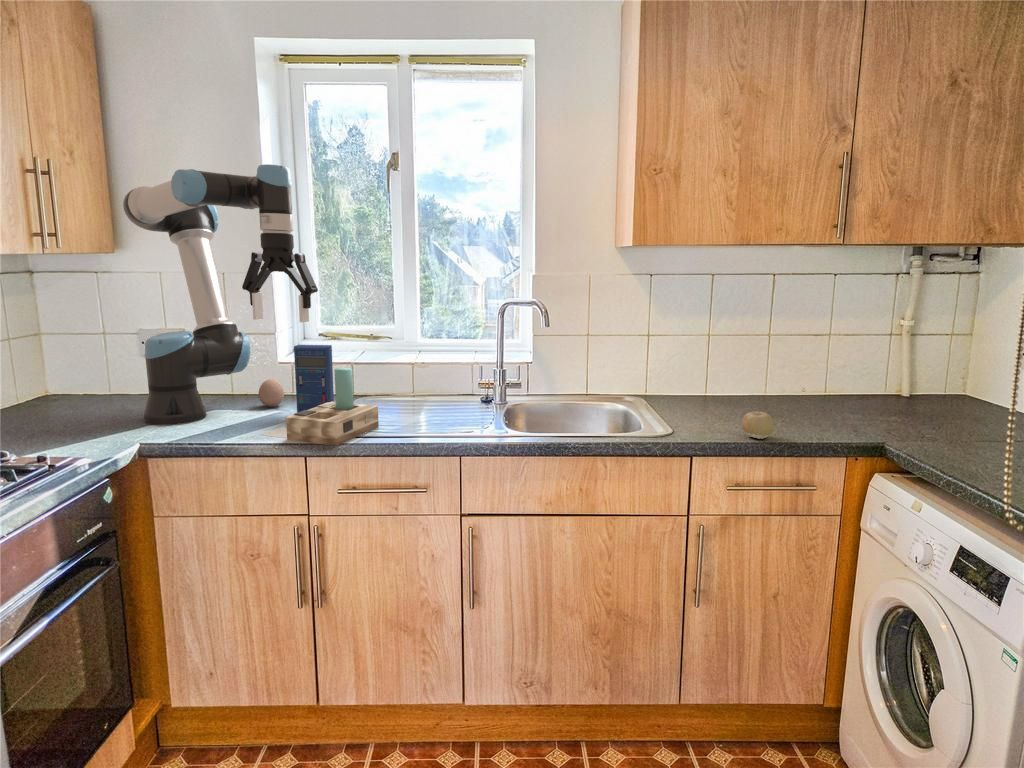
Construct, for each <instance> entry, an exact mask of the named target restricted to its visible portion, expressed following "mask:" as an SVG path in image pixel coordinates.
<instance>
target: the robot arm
mask: <svg viewBox="0 0 1024 768" xmlns="http://www.w3.org/2000/svg"><path fill="white" fill-rule="evenodd" d="M291 180H292V179H291V171H290V169H289V168H288V167H287V166H285V165H278V164H260V165H258V166H257V169H256V175H255V176H248V175H239V174H230V173H221V172H220V173H219V172H211V171H204V170H197V169H183V168H181V169H180V168H179V169H177V170H175V171H174V173H173V175H172V177H171V180H168V181H165V182H162V183H160V184H157V185H154V186H152V187H150V186H140V187H139V186H138V187H136V188H133V189H131V190H130V191H128V192H127V193H126V194H125V196H124V198H123V201H122V209H123V211H124V214H125V215H126V217H127V218H128V220H129V221H131V222H132V223H133V224H134V225H135V226H137V227H139V228H141V229H143V230H146V231H150V232H158V233H159V232H161V233H163V232H164V233H168V236H169V241H170V242H171V243H172V244H174V245H176V246H177V249H178V253H179V257H180V260H181V265H182V268H183V274H184V277H185V283H186V286H187V289H188V293H189V299H190V302H191V307H192V310H193V311H192V312H193V315H194V319H195V322H196V327H195V328H194V329H193V331H189V330H180V331H179V330H177V331H172V332H171V331H170V332H164V333H159V334H156V335H152V336H150V337H148V338H147V339H146V340H145V341H144V358H145V365H146V375H147V376H146V378H147V387H148V394H147V400H146V403H145V404H146V405H145V409H144V410H143V414H142V415H143V421H144V423H145V424H148V425H153V426H155V425H156V426H172V425H182V424H183V425H184V424H187V423H193V422H198V421H201V420H203V419H205V418H206V417H207V410H206V406H205V405H204V403H203V401H202V398H201V395H200V393H199V391H198V384H197V379H199V378H207V377H216V376H221V375H222V376H223V375H227V376H228V375H231V374H237V373H241V372H243V371H244V370H245V369H246V368H247V366H248V364H249V363H250V359H251V351H252V350H251V343H250V339H249V337H248V336H247V334H246V333H245V332H243V331H239V330H238V327H237V324H236V323H235V322H233V321H231V320H230V318H229V317H230V316H229V314H228V309H227V305H226V302H225V296H224V293H223V289H222V286H221V285H222V284H221V281H220V277H219V272H218V270H217V269H218V268H217V265H216V261H215V256H214V252H213V249H212V244H211V242H212V240H213V239H214V237H215V233H216V232H217V230H218V227H219V222H218V220H219V212H218V210H217V207H218V206H221V207H231V208H240V209H245V210H255V209H258V210H259V211H258V213H259V214H258V215H259V229H260V231H261V233H260V247H261V249H262V252H261V251H260V252H257V251H255V252H251V255H250V263H249V265H248V266H249V267H248V269H247V272H246V274H245V277H244V281H243V283H242V285H241V287H242V290H243V291H246V292H249V300H250V302H249V303H250V306H252V317H253V319H252V320H257V321H258V320H263V319H264V313H263V311H264V308H263V293H262V292H261V291H260V290H261V289H262V287H263V285H264V284H265V283H266V281H267V279H268V278H269V277H270V275H271V274H272V273H273V272H277V273H279V272H280V273H281V272H282V273H283V272H284V273H285V274H286V275H287V276H288V277H289V279H290V280H291V281H292V283H293V284H294V286H295V287H296V288H297V290H298V291H299V292H300V293H299V295H298V313H299V314H298V315H299V317H298V318H299V323H307V322H310V314H309V313H310V312H309V311H310V309H311V307H312V303H311V302H312V301H311V295H313V294H314V293H318V292H319V291H318V290H319V289H318V287H317V285H316V282H315V280H314V278H313V275H312V273H311V271H310V269H309V267H308V264H307V263H306V262H307V261H306V255H305V254H304V253H299V252H298V253H297V252H296V253H293V251H294V247H295V246H294V245H295V244H294V243H295V242H294V235H293V233H292V232H293V231H294V220H293V192H292V187H293V186H292V185H293V183H292V181H291ZM216 206H217V207H216ZM263 262H264V263H263ZM262 263H263V264H262ZM293 263H295V265H294V264H293Z"/></svg>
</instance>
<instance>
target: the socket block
mask: <svg viewBox="0 0 1024 768" xmlns="http://www.w3.org/2000/svg"><path fill="white" fill-rule="evenodd" d="M285 422H286V423H285V424H286V426H285V428H287V438H286V440H287V441H293V442H302V443H309V444H311V443H312V444H317V445H319V444H320V445H326V446H334V447H335V446H336V447H338V446H340V445H342V444H344V443H346V442H348V441H351V440H354V439H356V438H357V436H358V435H360V434H362V433H364V434H366V433H368V432H370V431H373V430H375V429H377V428H379V406H378V405H373V404H361V403H354V409H352V410H349V411H345V410H336V401H334V402H329V403H325V404H322V405H319V406H317V407H315V408H312V409H309V410H304V411H301V412H298V413H297V412H296V413H293V414H291V415H288V416H286V417H285ZM365 432H366V433H365ZM362 435H363V434H362ZM360 436H361V435H360ZM358 437H359V436H358Z"/></svg>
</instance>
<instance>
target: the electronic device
mask: <svg viewBox="0 0 1024 768" xmlns="http://www.w3.org/2000/svg"><path fill="white" fill-rule="evenodd" d="M293 353H294V354H293V356H294V357H293V358H294V376H295V393H296V394H295V396H296V399H295V400H296V413H298V412H301V411H304V410H309V409H312V408H315V407H317V406H319V405H322V404H325V403H329V402H335V397H334V394H335V393H334V392H335V391H334V371H333V369H334V368H333V346H332V344H297V345H294V346H293Z"/></svg>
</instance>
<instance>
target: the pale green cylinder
mask: <svg viewBox="0 0 1024 768" xmlns="http://www.w3.org/2000/svg"><path fill="white" fill-rule="evenodd" d="M333 369H334V368H333ZM353 375H354V374H353V368H350V367H338V368H335V369H334V390H335V391H334V392H335V393H334V394H335V402H336V410H345V411H349V410H352V409H354V404H355V403H354V385H353V384H354V382H353V381H354V379H353Z"/></svg>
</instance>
